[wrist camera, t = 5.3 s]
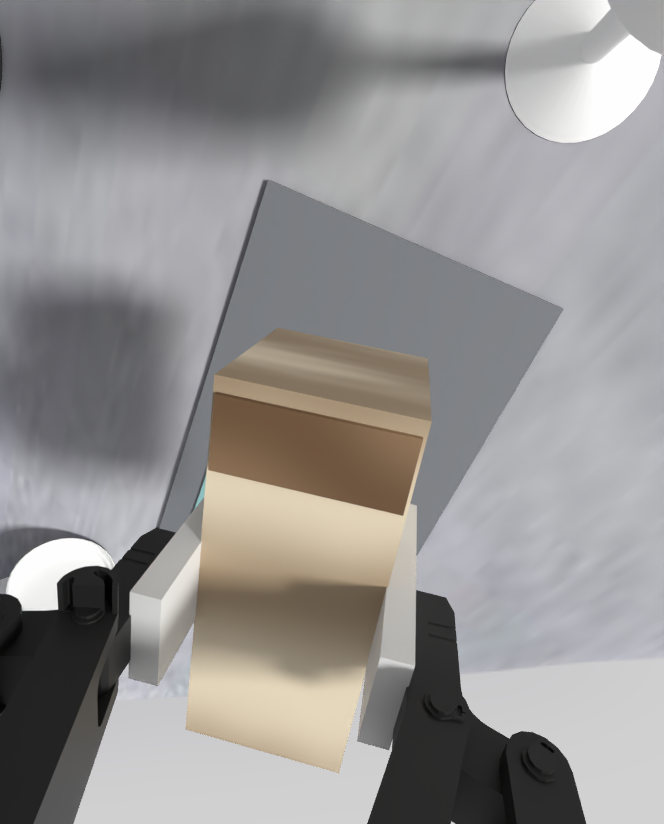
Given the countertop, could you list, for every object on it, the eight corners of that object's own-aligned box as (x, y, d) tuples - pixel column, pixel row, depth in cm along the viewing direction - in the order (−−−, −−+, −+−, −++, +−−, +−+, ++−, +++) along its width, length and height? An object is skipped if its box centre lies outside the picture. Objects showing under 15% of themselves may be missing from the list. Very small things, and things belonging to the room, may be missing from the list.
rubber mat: (152, 552, 37) (150, 554, 37) (269, 180, 27) (268, 179, 26) (362, 645, 37) (361, 648, 37) (562, 307, 27) (563, 308, 26)
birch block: (358, 636, 20) (337, 778, 15) (242, 606, 21) (183, 734, 16) (428, 358, 16) (432, 424, 11) (277, 327, 16) (212, 376, 11)
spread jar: (17, 631, 43) (-118, 769, 32) (-14, 518, 39) (-181, 633, 28) (148, 651, 41) (51, 804, 30) (129, 535, 37) (11, 663, 26)
